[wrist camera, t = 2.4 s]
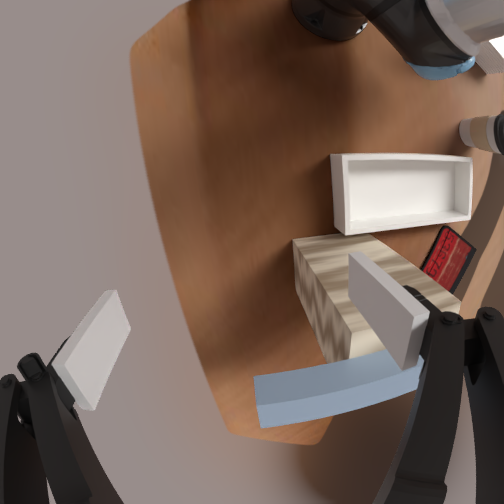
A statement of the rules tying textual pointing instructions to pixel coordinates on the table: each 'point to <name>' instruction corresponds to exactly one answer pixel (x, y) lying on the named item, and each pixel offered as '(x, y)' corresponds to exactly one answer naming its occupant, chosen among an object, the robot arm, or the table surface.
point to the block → (331, 388)
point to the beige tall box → (336, 290)
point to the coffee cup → (484, 133)
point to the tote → (399, 190)
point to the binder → (448, 259)
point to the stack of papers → (491, 56)
